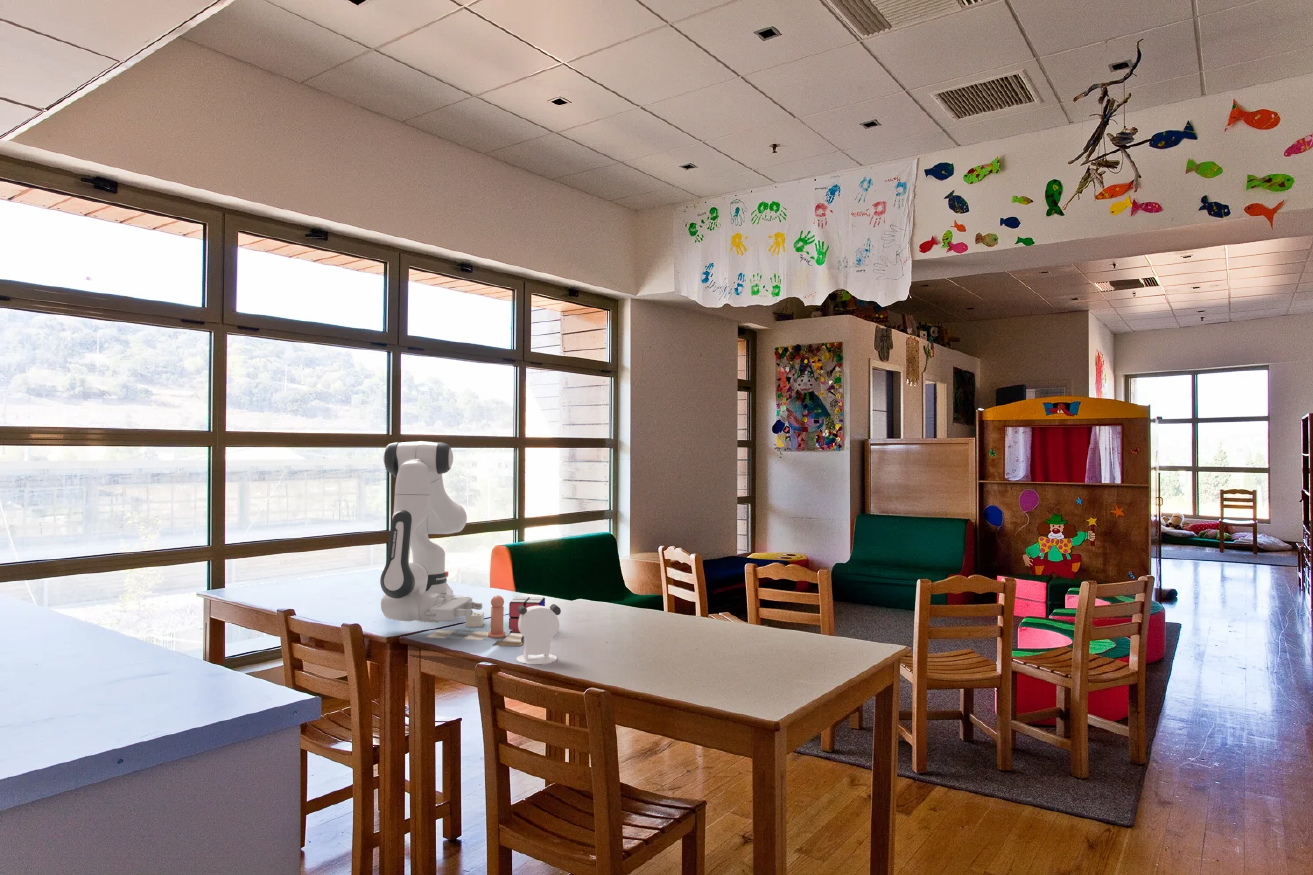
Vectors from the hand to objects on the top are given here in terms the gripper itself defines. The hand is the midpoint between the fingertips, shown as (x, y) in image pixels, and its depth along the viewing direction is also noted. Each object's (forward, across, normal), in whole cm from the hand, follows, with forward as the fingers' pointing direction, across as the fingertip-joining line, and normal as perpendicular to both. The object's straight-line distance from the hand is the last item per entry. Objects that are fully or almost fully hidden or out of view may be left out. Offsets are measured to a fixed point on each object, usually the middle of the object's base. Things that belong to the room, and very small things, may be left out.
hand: (476, 609), depth 249 cm
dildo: (+7, 0, +8) cm, 10 cm away
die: (-5, +14, +9) cm, 17 cm away
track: (+1, 0, +9) cm, 9 cm away
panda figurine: (+24, -20, +9) cm, 33 cm away
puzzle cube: (+12, +16, +10) cm, 22 cm away
